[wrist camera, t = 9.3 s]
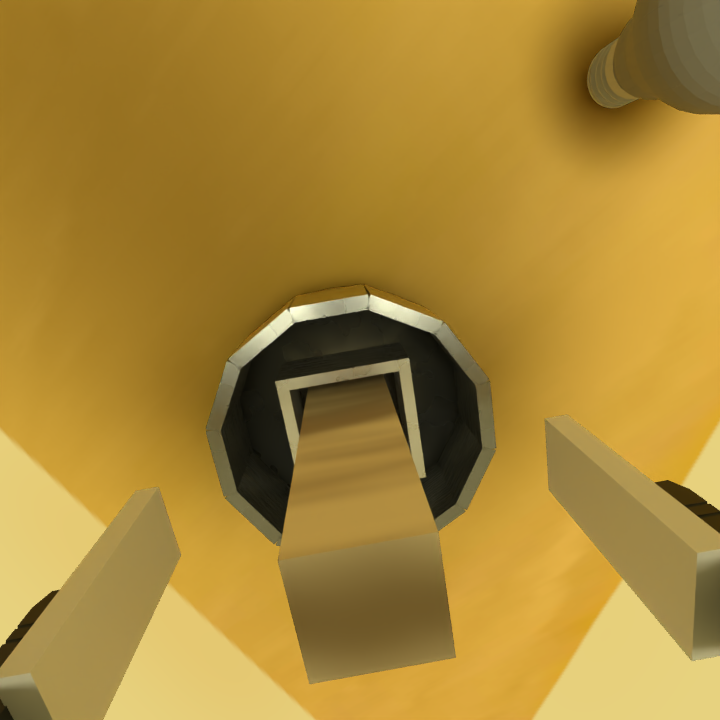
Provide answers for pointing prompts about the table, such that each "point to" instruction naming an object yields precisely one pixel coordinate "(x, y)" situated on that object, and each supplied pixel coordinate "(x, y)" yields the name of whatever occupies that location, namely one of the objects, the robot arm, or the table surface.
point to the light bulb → (663, 58)
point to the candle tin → (339, 363)
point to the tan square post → (361, 540)
